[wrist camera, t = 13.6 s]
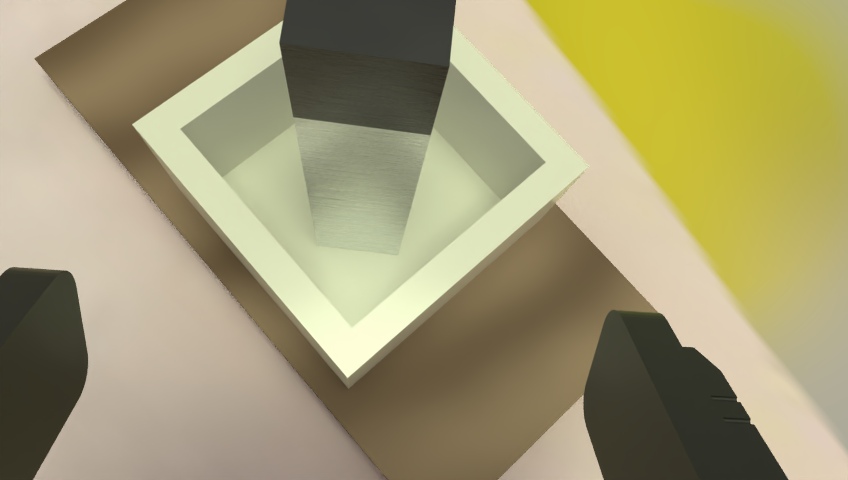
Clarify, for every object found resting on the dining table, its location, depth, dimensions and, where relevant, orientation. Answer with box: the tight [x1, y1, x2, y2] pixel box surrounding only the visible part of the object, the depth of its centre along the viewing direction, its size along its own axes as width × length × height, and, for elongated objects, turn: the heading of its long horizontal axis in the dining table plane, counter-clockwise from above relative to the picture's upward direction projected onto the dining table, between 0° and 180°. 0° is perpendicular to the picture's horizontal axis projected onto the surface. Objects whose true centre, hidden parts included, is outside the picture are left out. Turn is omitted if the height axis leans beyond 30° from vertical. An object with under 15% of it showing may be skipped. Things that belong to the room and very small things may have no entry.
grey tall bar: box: [279, 0, 456, 255], centre depth 19 cm, size 3×4×14 cm
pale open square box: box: [132, 21, 589, 389], centre depth 24 cm, size 10×10×6 cm
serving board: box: [35, 0, 658, 480], centre depth 28 cm, size 24×12×2 cm, turn 42°
